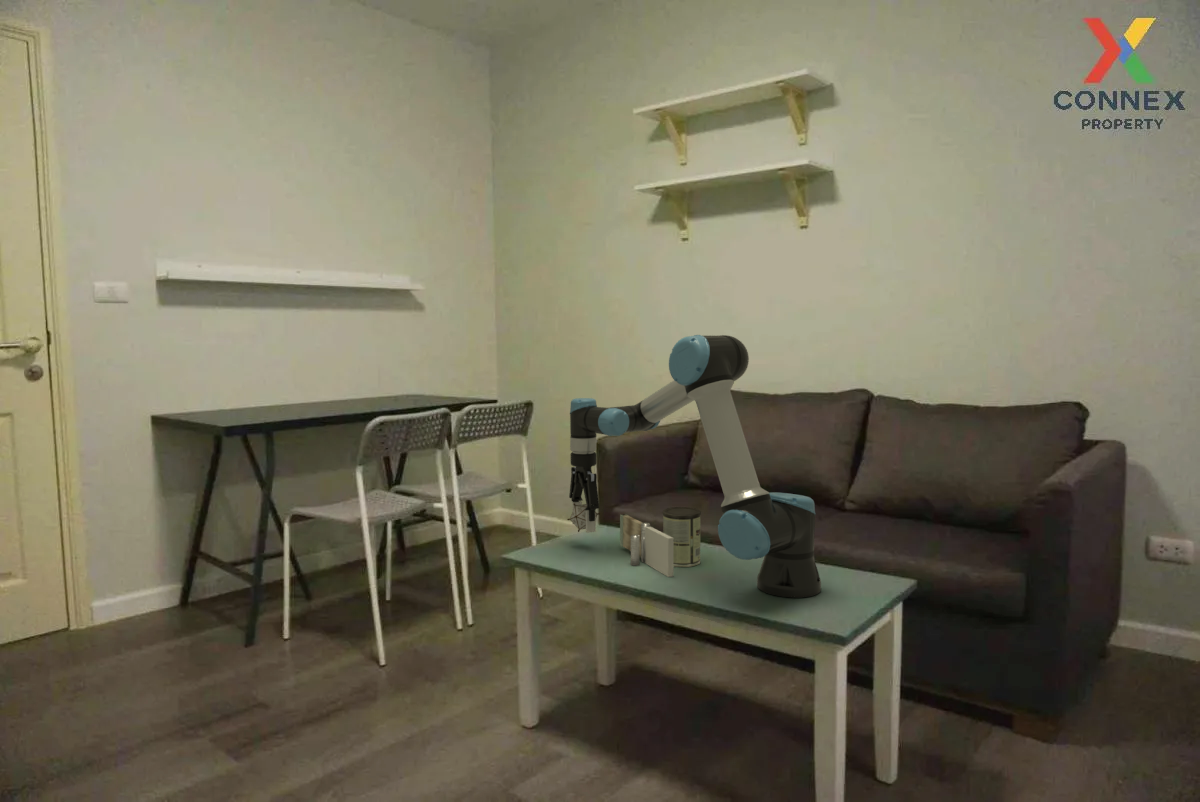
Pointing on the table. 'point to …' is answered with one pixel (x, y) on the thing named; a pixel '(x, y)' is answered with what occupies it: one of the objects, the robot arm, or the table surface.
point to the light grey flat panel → (659, 551)
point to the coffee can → (683, 534)
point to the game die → (579, 516)
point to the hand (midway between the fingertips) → (583, 527)
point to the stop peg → (635, 550)
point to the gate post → (643, 540)
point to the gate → (629, 530)
